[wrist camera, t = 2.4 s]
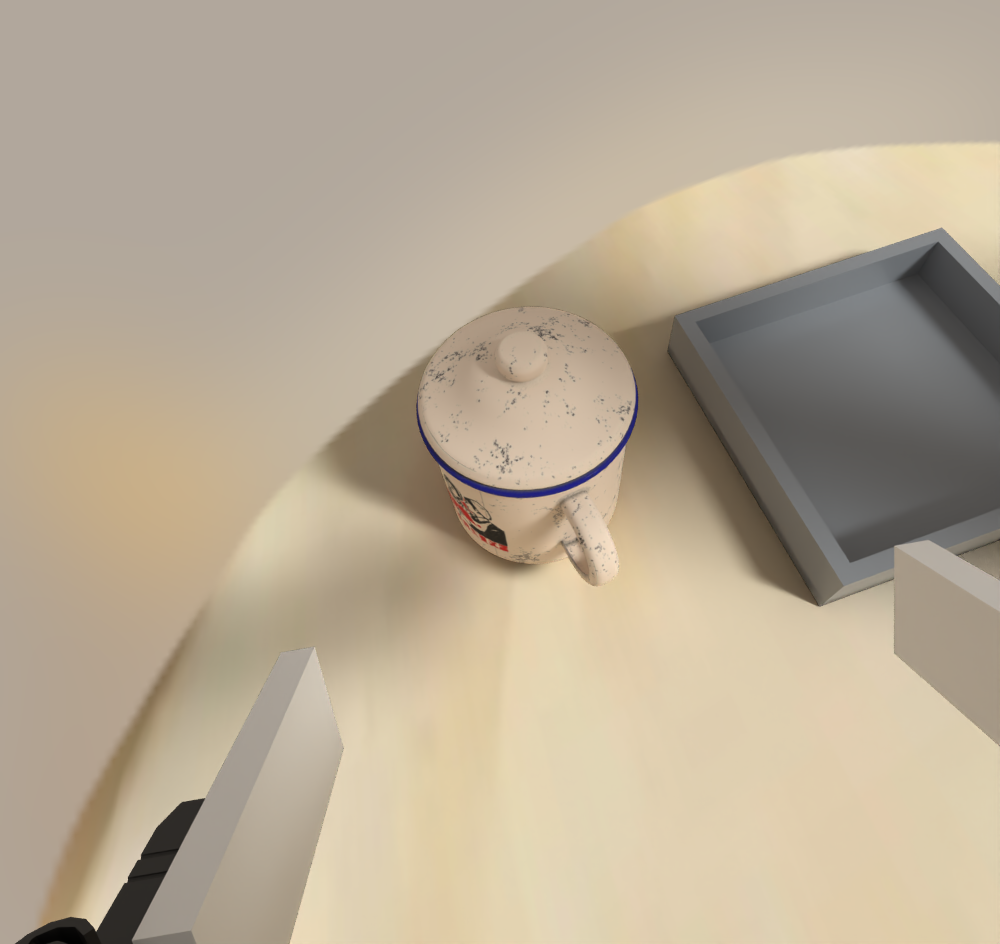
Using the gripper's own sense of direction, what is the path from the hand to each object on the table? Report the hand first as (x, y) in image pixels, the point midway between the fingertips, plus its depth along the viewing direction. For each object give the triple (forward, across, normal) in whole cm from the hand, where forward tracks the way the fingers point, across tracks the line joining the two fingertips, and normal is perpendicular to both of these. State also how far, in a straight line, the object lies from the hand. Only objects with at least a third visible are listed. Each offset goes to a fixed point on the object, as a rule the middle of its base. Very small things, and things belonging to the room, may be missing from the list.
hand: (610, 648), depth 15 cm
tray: (+20, +18, -2) cm, 27 cm away
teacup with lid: (+19, 0, -4) cm, 19 cm away
